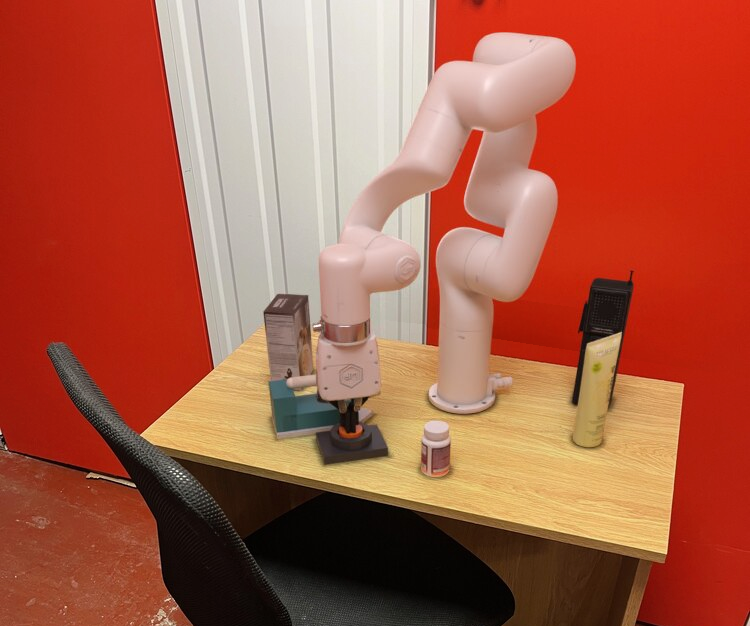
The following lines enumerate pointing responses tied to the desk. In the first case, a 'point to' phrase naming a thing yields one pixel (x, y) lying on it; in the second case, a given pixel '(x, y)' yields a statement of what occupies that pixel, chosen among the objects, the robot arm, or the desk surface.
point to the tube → (595, 390)
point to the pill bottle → (435, 449)
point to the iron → (303, 409)
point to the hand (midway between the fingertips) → (349, 428)
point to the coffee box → (288, 337)
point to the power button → (351, 435)
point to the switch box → (351, 445)
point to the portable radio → (603, 320)
